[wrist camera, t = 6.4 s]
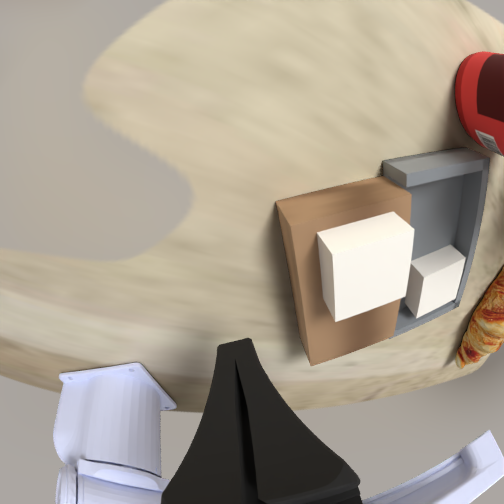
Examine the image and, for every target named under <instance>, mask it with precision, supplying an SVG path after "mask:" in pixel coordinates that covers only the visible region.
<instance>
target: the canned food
mask: <svg viewBox="0 0 504 504" xmlns="http://www.w3.org/2000/svg"><path fill="white" fill-rule="evenodd" d="M455 99H456V107H457V111H458V115H459V118H460V121H461V123H462V125H463V127H464V129H465V131H466V132H467V133H468V135H469V136H470V137H471V138H472V139H474V140H475V141H476V142H477V143H478V144H479V145H481V146H482V147H485V148H487V149H489V150H491V151H493V152H495V153H497V154H499V155H502V156H504V54H499V53H491V52H478V53H475V54H471V55H469V56H468V57H466V58H465V59H464V61H463V62H462V63H461V65H460V67H459V70H458V73H457V77H456V84H455Z"/></svg>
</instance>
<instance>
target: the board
mask: <svg viewBox="0 0 504 504" xmlns="http://www.w3.org/2000/svg"><path fill="white" fill-rule="evenodd" d="M411 196H412V194H410V193H409V192H407V191H406V190H405V189H403V188H402V187H400V186H398V185H397V184H395V183H394V182H392V181H391V180H389V179H388V178H386V177H384V176H380V177H375V178H371V179H366V180H362V181H357V182H353V183H349V184H344V185H340V186H336V187H331V188H327V189H323V190H319V191H315V192H311V193H307V194H303V195H299V196H295V197H291V198H287V199H283V200H279V201H276V206H277V211H278V216H279V221H280V227H281V232H282V237H283V242H284V248H285V253H286V259H287V264H288V270H289V275H290V281H291V286H292V292H293V298H294V304H295V310H296V316H297V322H298V328H299V334H300V339H301V341H302V344H303V347H304V349H305V352H306V355H307V357H308V360H309V363H310V366H313V365H316V364H320V363H323V362H326V361H329V360H332V359H335V358H337V357H340V356H343V355H346V354H349V353H351V352H354V351H357V350H360V349H362V348H365V347H367V346H370V345H373V344H375V343H378V342H380V341H383V340H385V339H387V338H390V337H392V336H394V331H395V327H396V322H397V317H398V311H399V306H400V300H401V298H400V299H397V300H395V301H392V302H390V303H387V304H385V305H382V306H379V307H377V308H374V309H371V310H369V311H366V312H363V313H360V314H357V315H355V316H352V317H349V318H346V319H343V320H340V321H337V322H335V320H334V318H333V317H332V315H331V313H330V311H329V309H328V307H327V305H326V303H325V301H324V299H323V291H322V279H321V268H320V258H319V248H318V239H317V232H320V231H324V230H328V229H331V228H335V227H339V226H342V225H346V224H349V223H353V222H357V221H360V220H364V219H368V218H371V217H375V216H379V215H382V214H386V213H389V212H395V213H396V214H397V215H398V216H399V217H401V218H402V219H403V220H404V221H405V222H407V223H408V224H409V225H410V216H411Z"/></svg>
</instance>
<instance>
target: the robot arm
mask: <svg viewBox="0 0 504 504" xmlns="http://www.w3.org/2000/svg"><path fill="white" fill-rule="evenodd" d="M59 378H60V380H61V381H62V382H63V383H64V384H63V388H62V392H61V397H60V401H59V405H58V410H57V415H56V420H55V425H54V432H53V438H54V445H55V448H56V451H57V454H58V456H59V457H60V459H61V460H62V461H63V462H64V463H65V464H66V465H65V466H64V467H62V468H60V470H59V474H58V479H57V487H56V502H55V504H469V503H470V502H472V501H473V500H474V499H476V498H477V497H478V496H479V495H481V494H482V493H483V492H484V491H486V490H487V489H488V488H489V487H491V486H492V485H493V484H494V483H496V482H497V481H498V480H499V479H500V478H501V477H503V476H504V457H503V456H502V453H501V451H500V449H499V447H498V445H497V443H496V441H495V439H494V437H493V435H492V434H491V431H490V430H487V431H486V432H485V433H483V434H482V435H480V436H479V437H478V438H476V439H475V440H474V441H472V442H471V443H469V444H468V445H467V446H465V447H464V448H462V449H461V450H460V451H459V452H458V453H456V454H455V455H453V456H451V457H450V458H448V459H447V460H445V461H443V462H442V463H440V464H438V465H436V466H435V467H433V468H431V469H429V470H428V471H426V472H424V473H422V474H420V475H418V476H417V477H414V478H412V479H410V480H408V481H406V482H404V483H402V484H400V485H398V486H396V487H394V488H392V489H389V490H387V491H385V492H382V493H380V494H377V495H375V496H373V497H370V498H367V499H365V500H361V497H360V491H359V488H358V485H359V484H360V479H359V477H358V475H357V474H356V473H355V472H354V471H353V470H352V469H351V468H350V466H349V465H348V464H347V463H346V462H345V461H344V460H343V459H342V458H341V457H339V456H338V455H337V454H336V453H335V452H333V451H332V450H331V449H330V448H329V447H327V446H326V445H325V444H324V443H323V442H322V441H321V440H320V439H318V438H317V436H316V435H314V434H313V433H312V432H311V431H310V429H308V427H306V425H305V424H304V423H303V422H302V421H301V420H300V419H299V418H298V417H297V416H296V414H295V413H294V412H293V411H292V410H291V408H290V407H289V406H288V405H287V404H286V402H285V401H284V400H283V398H282V397H281V396H280V394H279V393H278V391H277V390H276V389H275V387H274V386H273V384H272V383H271V381H270V379H269V378H268V376H267V374H266V373H265V371H264V369H263V368H262V366H261V364H260V362H259V359H258V356H257V353H256V351H255V348H254V345H253V342H252V340H251V339H250V338H245V339H242V340H238V341H234V342H230V343H225V344H221V345H219V346H218V347H217V357H216V364H215V370H214V375H213V380H212V384H211V388H210V392H209V396H208V400H207V403H206V406H205V410H204V413H203V416H202V419H201V422H200V424H199V427H198V429H197V432H196V434H195V437H194V439H193V441H192V443H191V446H190V448H189V450H188V452H187V454H186V456H185V457H184V459H183V461H182V463H181V465H180V466H179V468H178V470H177V472H176V473H175V475H174V477H173V478H172V479H171V481H170V482H169V479H164V478H162V477H161V448H160V411H163V410H171V409H175V408H176V407H177V404H176V403H175V402H174V401H173V400H172V399H171V398H170V397H169V395H168V394H167V393H166V392H165V391H164V390H163V389H162V388H161V387H160V385H159V384H158V383H157V382H156V381H155V380H154V378H153V377H152V376H151V375H150V374H149V373H148V371H147V370H146V369H145V368H144V367H143V365H141V364H140V363H130V364H124V365H118V366H112V367H105V368H98V369H91V370H83V371H75V372H67V373H60V375H59Z"/></svg>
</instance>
